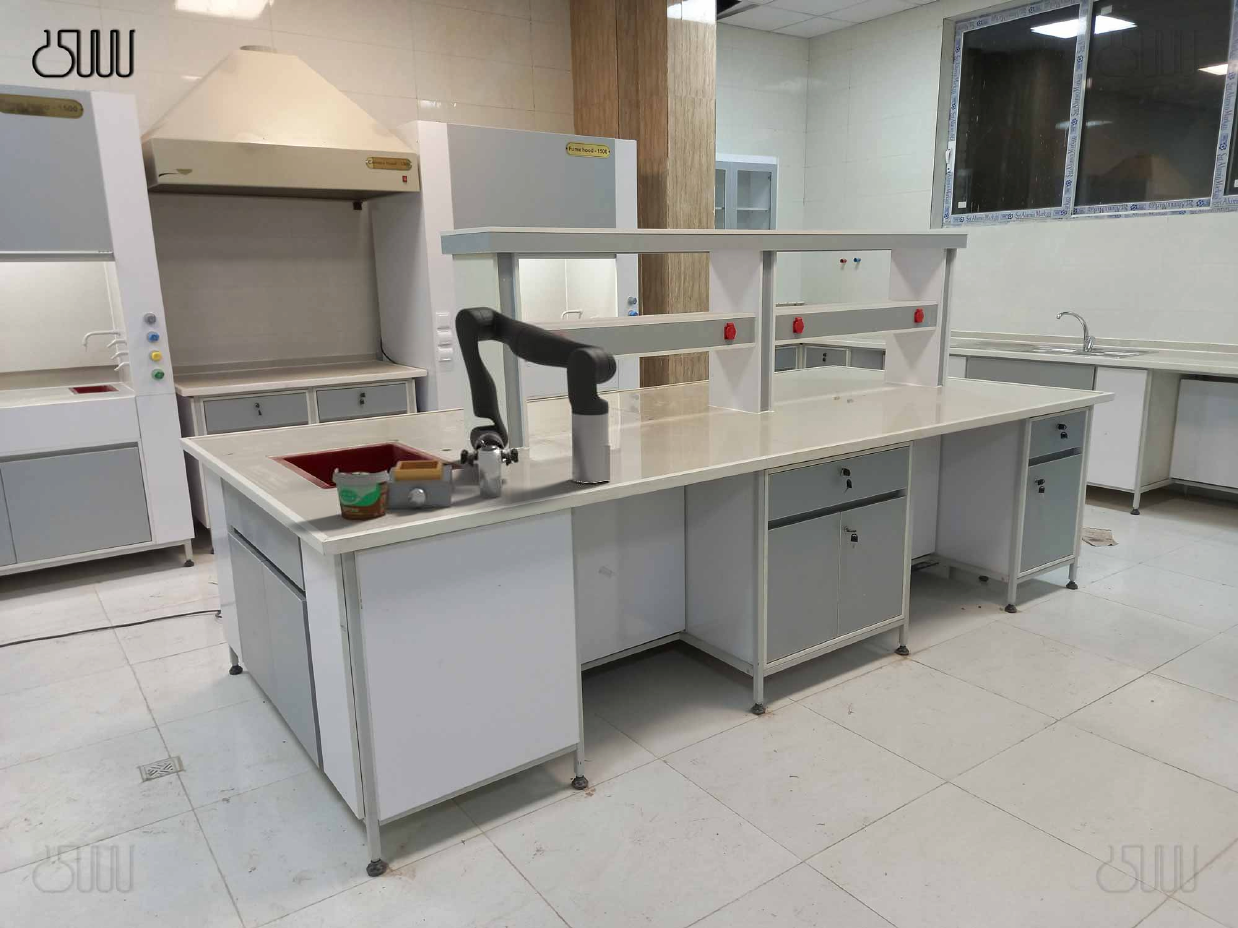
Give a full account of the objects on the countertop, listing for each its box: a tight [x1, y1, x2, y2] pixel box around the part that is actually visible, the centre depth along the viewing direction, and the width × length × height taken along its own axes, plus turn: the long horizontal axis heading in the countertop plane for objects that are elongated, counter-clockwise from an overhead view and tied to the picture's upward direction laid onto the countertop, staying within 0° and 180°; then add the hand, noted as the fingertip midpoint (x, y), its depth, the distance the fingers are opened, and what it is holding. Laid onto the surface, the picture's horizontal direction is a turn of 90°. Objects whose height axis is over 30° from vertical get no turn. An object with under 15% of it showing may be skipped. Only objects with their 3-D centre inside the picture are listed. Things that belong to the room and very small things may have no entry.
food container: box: [332, 467, 390, 522], centre depth 181 cm, size 12×6×10 cm, turn 81°
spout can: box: [477, 438, 503, 499], centre depth 199 cm, size 5×5×14 cm
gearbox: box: [386, 459, 454, 510], centre depth 195 cm, size 14×19×8 cm
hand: (489, 462), depth 208 cm, fingers open, 8 cm apart
